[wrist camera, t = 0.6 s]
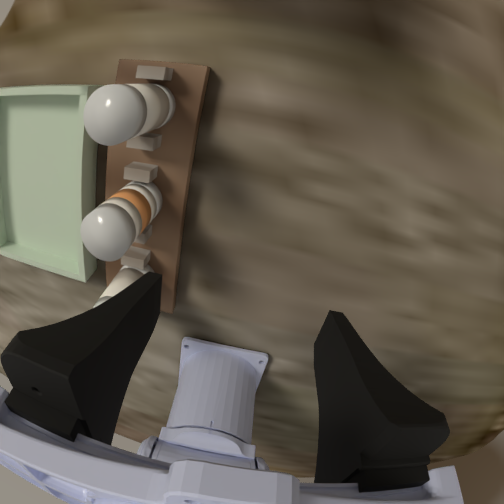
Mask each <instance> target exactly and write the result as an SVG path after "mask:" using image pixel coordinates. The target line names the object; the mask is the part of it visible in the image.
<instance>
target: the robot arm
mask: <svg viewBox="0 0 504 504" xmlns="http://www.w3.org/2000/svg"><path fill="white" fill-rule="evenodd" d="M161 289H162V274H158V273H154V272H150V271H149V272H147V273H146V274H144V275H143V276H141V277H140V278H139V279H137V280H136V281H135V282H133V283H132V284H130V285H129V286H128V287H126V288H125V289H123V290H122V291H120V292H119V293H118V294H116V295H115V296H113V297H111V298H110V299H108V300H107V301H105V302H103V303H102V304H100V305H98V306H96V307H94V308H93V309H90V310H88V311H86V312H84V313H82V314H80V315H77V316H75V317H72V318H70V319H67V320H64V321H62V322H58V323H55V324H52V325H48V326H44V327H40V328H35V329H30V330H24V331H19V332H18V333H17V334H16V336H15V337H14V338H13V339H12V341H11V342H10V343H9V345H8V346H7V347H6V349H5V350H4V351H3V353H2V354H1V363H2V366H3V369H4V371H5V373H6V375H7V377H8V378H9V381H10V383H11V384H12V386H13V389H12V390H11V392H10V394H9V393H8V392H7V391H6V390H5V389H4V388H2V387H1V386H0V464H1V465H3V466H5V467H6V468H8V469H9V470H11V471H12V472H14V473H15V474H17V475H19V476H20V477H22V478H23V479H25V480H27V481H28V482H30V483H32V484H34V485H35V486H37V487H39V488H40V489H42V490H44V491H46V492H48V493H49V494H51V495H53V496H55V497H57V498H59V499H61V500H63V501H65V502H67V503H69V504H464V503H463V498H462V494H461V490H460V486H459V482H458V478H457V474H456V470H455V467H454V466H453V465H451V466H445V467H439V468H434V469H432V470H429V471H428V469H427V465H428V464H429V463H430V458H429V455H430V454H431V453H432V452H434V451H435V450H436V449H437V448H438V447H439V446H441V445H442V444H443V443H444V442H445V441H446V439H447V438H448V436H449V434H450V430H449V427H448V424H447V421H446V418H445V415H444V414H443V413H442V412H440V411H438V410H437V409H435V408H433V407H431V406H430V405H428V404H427V403H425V402H424V401H422V400H421V399H419V398H418V397H417V396H415V395H414V394H413V393H411V392H410V391H409V390H408V389H406V388H405V387H404V386H403V385H402V384H401V383H400V382H398V381H397V380H396V379H395V378H394V377H393V376H392V375H391V374H390V373H389V372H388V371H387V370H386V369H385V368H384V367H383V365H382V364H381V363H380V362H379V361H378V360H377V358H376V357H375V356H374V355H373V354H372V352H371V351H370V350H369V348H368V347H367V346H366V345H365V343H364V342H363V340H362V339H361V338H360V336H359V335H358V333H357V332H356V331H355V329H354V328H353V326H352V325H351V323H350V322H349V321H348V319H347V318H346V317H345V315H344V314H343V313H341V312H336V311H331V310H329V313H328V315H327V317H326V319H325V322H324V324H323V326H322V328H321V330H320V333H319V335H318V337H317V339H316V341H315V343H314V370H315V378H316V387H317V395H318V404H319V439H318V454H317V465H316V473H315V480H314V483H299V479H297V478H296V477H294V476H293V475H291V474H288V473H283V472H278V471H270V470H269V467H268V465H267V464H266V463H265V461H264V459H263V458H261V457H255V450H256V446H255V445H251V439H252V427H253V415H254V403H255V393H256V390H257V388H258V385H259V383H260V380H261V377H262V375H263V372H264V370H265V367H266V364H267V362H268V354H266V353H262V352H257V351H252V350H246V349H241V348H236V347H232V346H227V345H222V344H217V343H213V342H208V341H204V340H200V339H195V338H191V337H184V338H183V340H182V347H181V358H180V369H179V382H178V387H177V391H176V394H175V398H174V401H173V405H172V408H171V412H170V415H169V419H168V422H167V426H166V427H162V429H161V432H160V436H159V438H158V437H155V436H150V437H149V438H148V439H146V440H144V441H143V442H142V443H141V445H140V447H139V449H138V452H137V454H135V453H132V452H128V451H125V450H122V449H119V448H116V447H113V446H111V443H112V439H113V434H114V431H115V427H116V423H117V420H118V416H119V412H120V409H121V406H122V403H123V399H124V396H125V393H126V390H127V387H128V384H129V381H130V378H131V376H132V374H133V371H134V369H135V367H136V365H137V363H138V361H139V359H140V357H141V355H142V353H143V351H144V349H145V347H146V345H147V343H148V341H149V339H150V337H151V335H152V333H153V331H154V328H155V325H156V323H157V320H158V317H159V314H160V307H161ZM187 345H188V346H187Z"/></svg>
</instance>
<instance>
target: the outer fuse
mask: <svg viewBox="0 0 504 504" xmlns="http://www.w3.org/2000/svg"><path fill="white" fill-rule="evenodd" d="M175 107H176V103H175V98H174V96H173V94H172V92H171V91H170V90H169V89H168V88H167V87H165V86H163V85H161V84H111V85H105V86H102V87H100V88H98V89H97V90H96V91H94V92H93V93H92V94H91V96H90V97H89V98H88V100H87V102H86V105H85V108H84V114H83V119H84V125H85V128H86V131H87V133H88V134H89V136H90V137H91V138H92V139H93V140H94V141H96V142H97V143H99V144H102V145H106V146H113V145H117V144H119V143H122V142H124V141H127V140H129V139H132V138H134V137H136V136H139V135H142V134H144V133H147V132H149V131H152V130H154V129H157V128H160V127H162V126H164V125H166V124H167V123H168V122H169V121H170V120H171V118H172V117H173V115H174V112H175Z"/></svg>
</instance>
